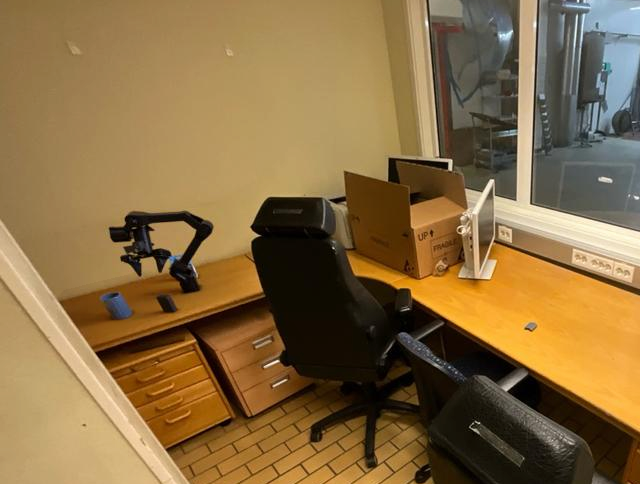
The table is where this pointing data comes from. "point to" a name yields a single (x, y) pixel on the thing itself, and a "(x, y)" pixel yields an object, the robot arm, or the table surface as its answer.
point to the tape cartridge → (188, 264)
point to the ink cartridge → (166, 303)
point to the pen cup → (116, 305)
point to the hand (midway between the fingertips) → (150, 274)
